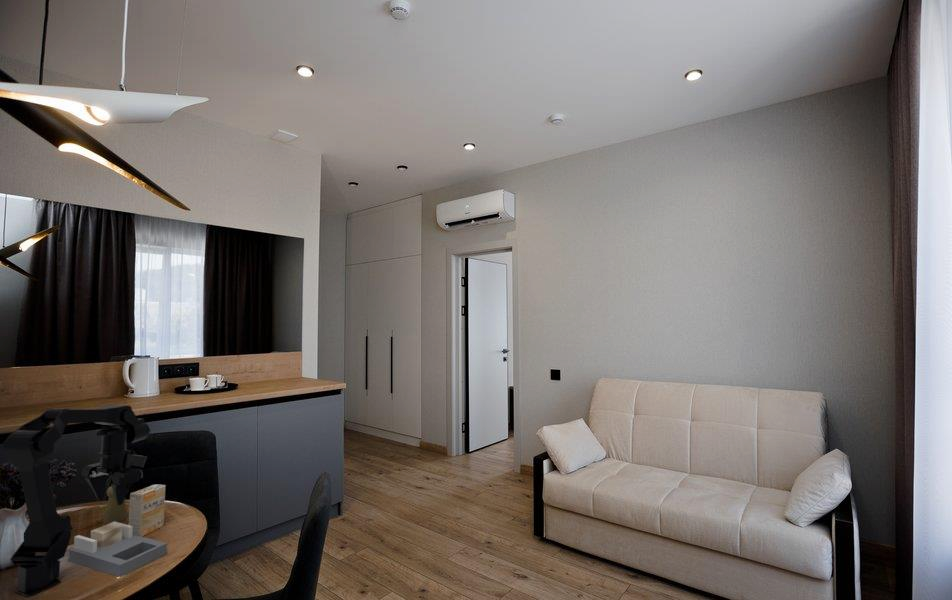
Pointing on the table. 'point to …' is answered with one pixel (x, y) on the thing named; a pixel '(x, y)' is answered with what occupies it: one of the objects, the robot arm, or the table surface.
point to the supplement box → (147, 509)
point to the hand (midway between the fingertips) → (110, 502)
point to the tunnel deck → (117, 552)
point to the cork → (114, 509)
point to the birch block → (107, 535)
